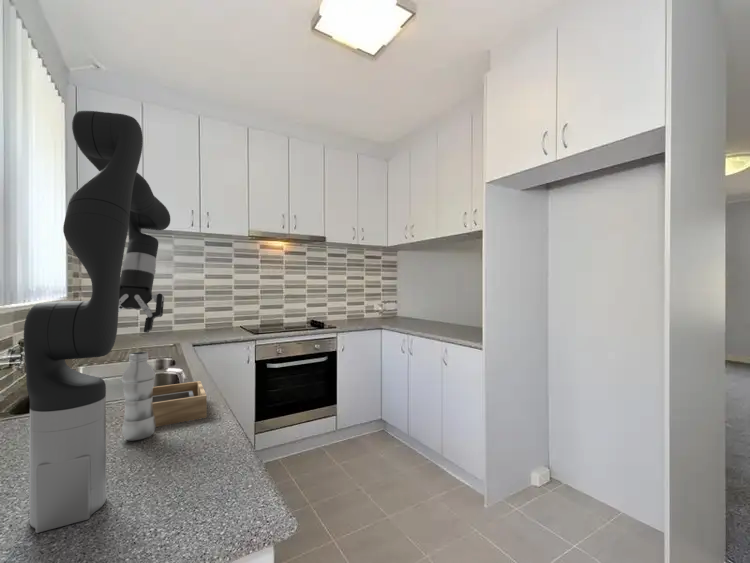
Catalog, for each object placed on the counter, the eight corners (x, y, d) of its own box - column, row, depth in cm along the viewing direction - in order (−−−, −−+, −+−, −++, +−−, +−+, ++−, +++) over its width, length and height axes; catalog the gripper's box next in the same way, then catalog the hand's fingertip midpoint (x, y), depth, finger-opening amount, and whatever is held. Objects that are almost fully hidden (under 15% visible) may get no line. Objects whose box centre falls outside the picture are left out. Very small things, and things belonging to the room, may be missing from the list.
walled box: (206, 417, 97) (206, 395, 97) (126, 432, 88) (125, 407, 88) (200, 400, 113) (200, 380, 113) (131, 410, 103) (131, 389, 103)
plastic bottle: (159, 437, 85) (159, 352, 85) (125, 447, 80) (125, 357, 80) (151, 430, 89) (151, 349, 89) (118, 439, 84) (118, 353, 84)
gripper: (102, 265, 92) (89, 328, 88) (164, 270, 96) (154, 331, 92) (113, 273, 99) (101, 332, 95) (170, 277, 103) (162, 334, 99)
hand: (127, 331), depth 93 cm, fingers open, 8 cm apart
